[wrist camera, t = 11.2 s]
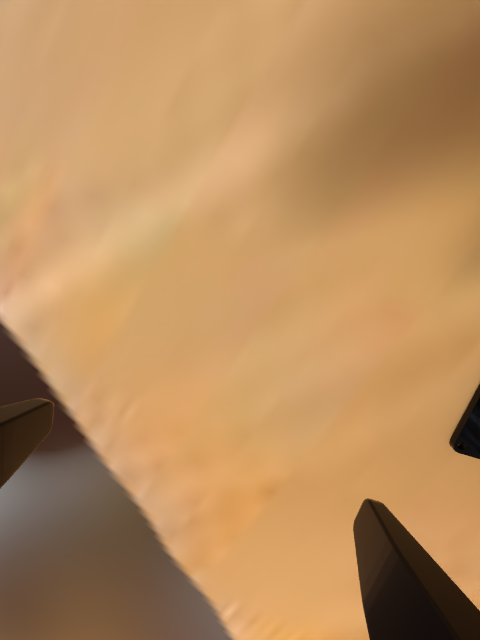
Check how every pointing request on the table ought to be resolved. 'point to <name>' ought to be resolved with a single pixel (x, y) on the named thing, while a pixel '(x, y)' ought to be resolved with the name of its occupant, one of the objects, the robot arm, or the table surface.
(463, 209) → the table surface
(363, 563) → the robot arm
